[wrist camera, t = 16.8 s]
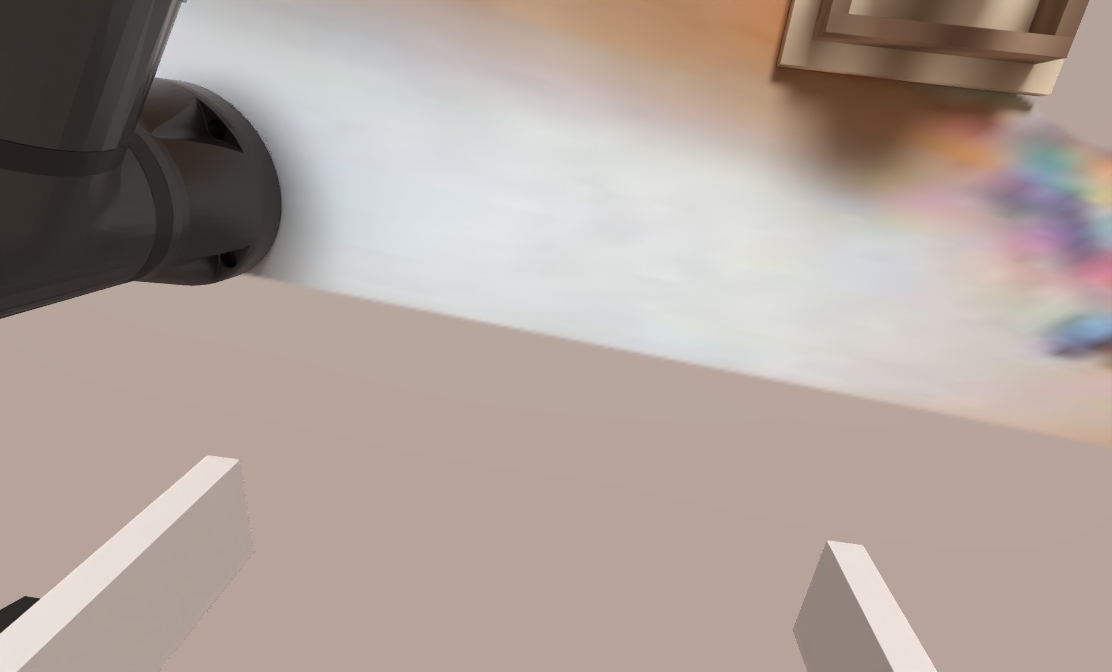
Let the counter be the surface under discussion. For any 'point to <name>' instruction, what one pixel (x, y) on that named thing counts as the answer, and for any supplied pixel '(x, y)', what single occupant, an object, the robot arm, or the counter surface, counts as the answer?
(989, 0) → the cup holder
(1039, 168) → the counter surface
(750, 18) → the counter surface
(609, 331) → the counter surface
